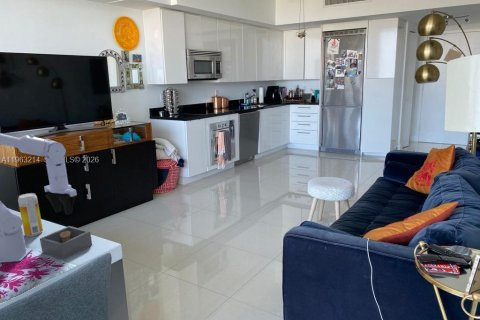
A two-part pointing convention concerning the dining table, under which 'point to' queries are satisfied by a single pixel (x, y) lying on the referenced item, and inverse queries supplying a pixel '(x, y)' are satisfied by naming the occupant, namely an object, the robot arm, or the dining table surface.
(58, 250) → the grey square open box
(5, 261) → the robot arm
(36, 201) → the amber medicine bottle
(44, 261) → the dining table surface
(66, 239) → the plunger
